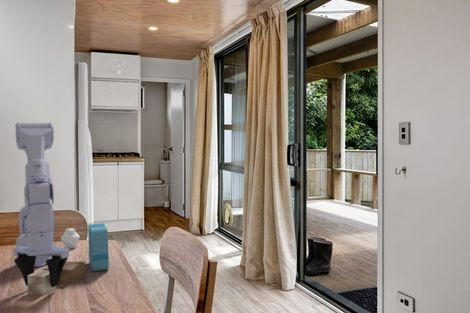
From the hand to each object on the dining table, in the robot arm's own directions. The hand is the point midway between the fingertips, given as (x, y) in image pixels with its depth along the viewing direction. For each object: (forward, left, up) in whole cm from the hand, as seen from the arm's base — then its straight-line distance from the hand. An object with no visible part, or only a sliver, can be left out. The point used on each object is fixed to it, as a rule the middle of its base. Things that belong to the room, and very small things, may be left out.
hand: (42, 284), depth 102 cm
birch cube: (0, 0, -2) cm, 2 cm away
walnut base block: (0, +9, -2) cm, 9 cm away
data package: (+3, +21, -2) cm, 21 cm away
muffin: (-20, +40, -2) cm, 45 cm away
